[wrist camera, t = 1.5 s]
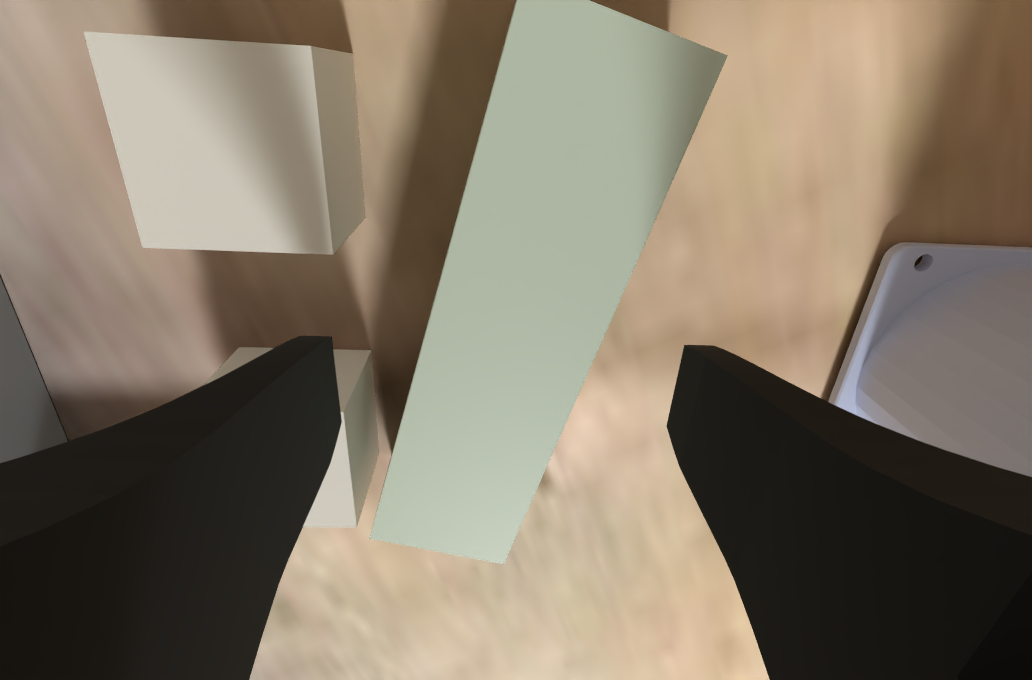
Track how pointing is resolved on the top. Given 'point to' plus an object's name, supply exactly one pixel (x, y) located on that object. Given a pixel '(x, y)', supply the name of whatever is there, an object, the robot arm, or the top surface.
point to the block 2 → (340, 437)
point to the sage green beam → (537, 264)
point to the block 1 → (233, 141)
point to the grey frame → (22, 393)
